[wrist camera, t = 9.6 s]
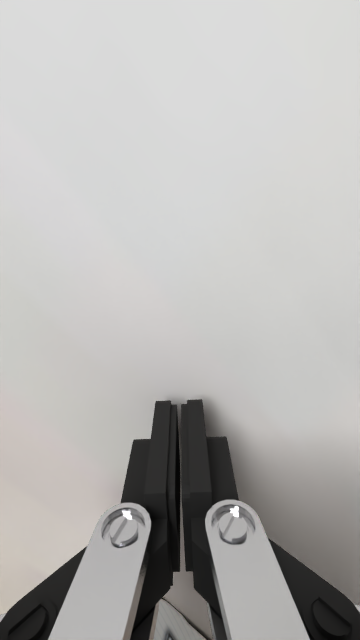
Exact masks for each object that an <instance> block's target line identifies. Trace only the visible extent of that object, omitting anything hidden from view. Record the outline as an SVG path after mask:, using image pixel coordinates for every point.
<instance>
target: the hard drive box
mask: <svg viewBox="0 0 360 640" xmlns="http://www.w3.org/2000/svg"><path fill="white" fill-rule="evenodd" d="M153 640H206V639H205V638H204V637H203V636H202V635H201V634H200V633H199V632H197V631H196V630H195V629H194V628H193V627H192V626H191V625H190V624H189V623H188V622H187V621H186V619H185V618H184V617H183V616H182V615H181V614H180V613H179V612H178V611H177V610H176V609H175V608H174V607H173V606H171V605H170V604H169V603H168V602H166V601H165V600H162V599H160V600H159V611H158V617H157V622H156V628H155V633H154V639H153Z"/></svg>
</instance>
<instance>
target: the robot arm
mask: <svg viewBox="0 0 360 640" xmlns="http://www.w3.org/2000/svg"><path fill="white" fill-rule="evenodd" d="M181 448H182V510H183V528H184V546H185V564H186V571H193V579H194V589H195V590H196V591H197V592H198V593H199V594H200V595H201V596H202V597H203V598H204V599H205V600H206V601H207V608H208V614H209V619H210V625H211V630H212V635H213V640H360V606H359V605H354V604H353V603H352V602H351V601H350V600H349V599H348V598H347V597H346V596H345V595H344V594H342V593H341V592H340V591H338V590H337V589H336V588H334V587H333V586H332V585H330V584H329V583H328V582H326V581H325V580H324V579H322V578H321V577H320V576H318V575H317V574H316V573H314V572H313V571H312V570H310V569H309V568H308V567H306V566H305V565H304V564H302V563H301V562H299V561H298V560H297V559H295V558H294V557H293V556H291V555H290V554H289V553H287V552H286V551H285V550H283V549H282V548H281V547H279V546H278V545H277V544H275V543H274V542H273V541H271V540H270V539H269V538H268V537H267V535H266V533H265V530H264V528H263V525H262V523H261V520H260V518H259V517H258V515H257V513H256V512H255V511H254V510H253V509H252V508H251V507H250V506H249V505H247V504H245V503H243V502H241V501H239V500H238V495H237V490H236V484H235V479H234V474H233V469H232V463H231V458H230V453H229V448H228V442H227V438H226V437H206V432H205V422H204V412H203V403H202V400H187V404H182V405H181ZM173 572H180V452H179V434H178V416H177V405H171V401H156V403H155V410H154V418H153V426H152V434H151V439H138V440H134V441H133V444H132V449H131V454H130V459H129V464H128V469H127V474H126V479H125V484H124V489H123V494H122V499H121V504H118V505H115V506H113V507H112V508H110V509H108V510H107V511H106V512H105V513H104V514H103V515H102V516H101V518H100V519H99V521H98V523H97V525H96V527H95V529H94V532H93V534H92V536H91V539H90V541H89V544H88V546H86V547H85V548H84V549H83V550H82V551H80V552H79V553H78V554H77V555H75V556H74V557H73V558H72V559H70V560H69V561H68V562H67V563H65V564H64V565H63V566H62V567H60V568H59V569H58V570H57V571H55V572H54V573H53V574H52V575H50V576H49V577H48V578H47V579H45V580H44V581H43V582H42V583H40V584H39V585H38V586H37V587H35V588H34V589H33V590H32V591H30V592H29V593H28V594H27V595H25V596H24V597H23V598H22V599H20V600H19V601H18V602H17V603H16V604H15V605H14V606H13V607H12V608H11V609H10V610H9V611H8V612H7V613H5V614H2V615H0V640H153V639H154V633H155V628H156V622H157V617H158V611H159V600H160V599H161V598H162V597H163V596H164V595H165V594H166V593H167V592H168V591H169V589H170V586H173Z"/></svg>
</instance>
